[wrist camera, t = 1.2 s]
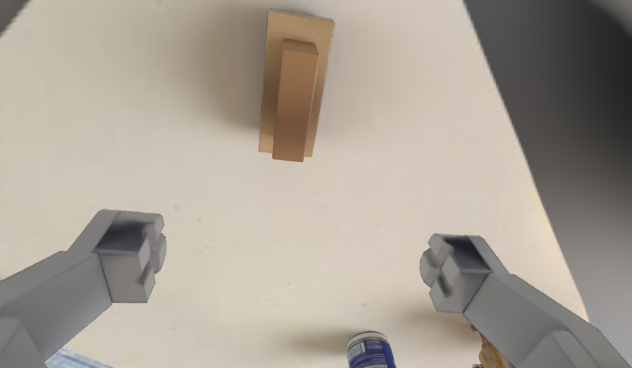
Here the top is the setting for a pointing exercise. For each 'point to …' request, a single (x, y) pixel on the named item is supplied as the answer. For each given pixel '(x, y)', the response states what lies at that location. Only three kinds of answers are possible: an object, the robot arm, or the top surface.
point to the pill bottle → (370, 351)
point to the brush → (293, 83)
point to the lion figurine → (491, 356)
